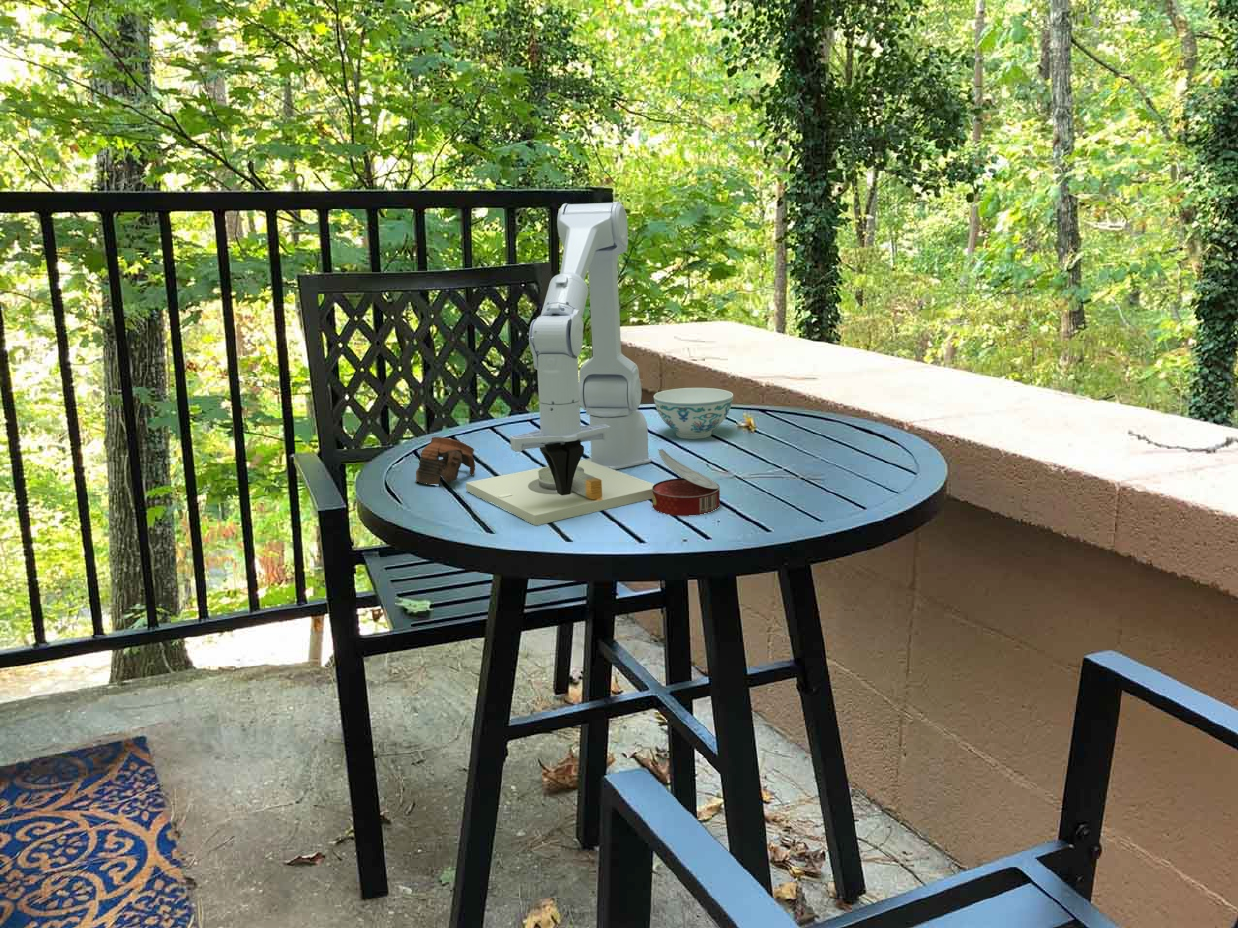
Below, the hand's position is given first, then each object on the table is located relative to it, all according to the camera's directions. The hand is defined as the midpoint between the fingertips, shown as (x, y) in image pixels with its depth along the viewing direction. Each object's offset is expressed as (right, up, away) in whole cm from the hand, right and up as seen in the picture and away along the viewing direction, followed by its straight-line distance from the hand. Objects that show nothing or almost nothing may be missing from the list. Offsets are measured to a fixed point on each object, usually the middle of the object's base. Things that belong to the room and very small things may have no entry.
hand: (563, 493), depth 142 cm
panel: (-1, 0, +10) cm, 10 cm away
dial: (+1, +1, +6) cm, 6 cm away
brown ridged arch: (-20, +1, +20) cm, 28 cm away
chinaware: (+22, +10, +46) cm, 52 cm away
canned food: (+18, -2, +2) cm, 18 cm away
